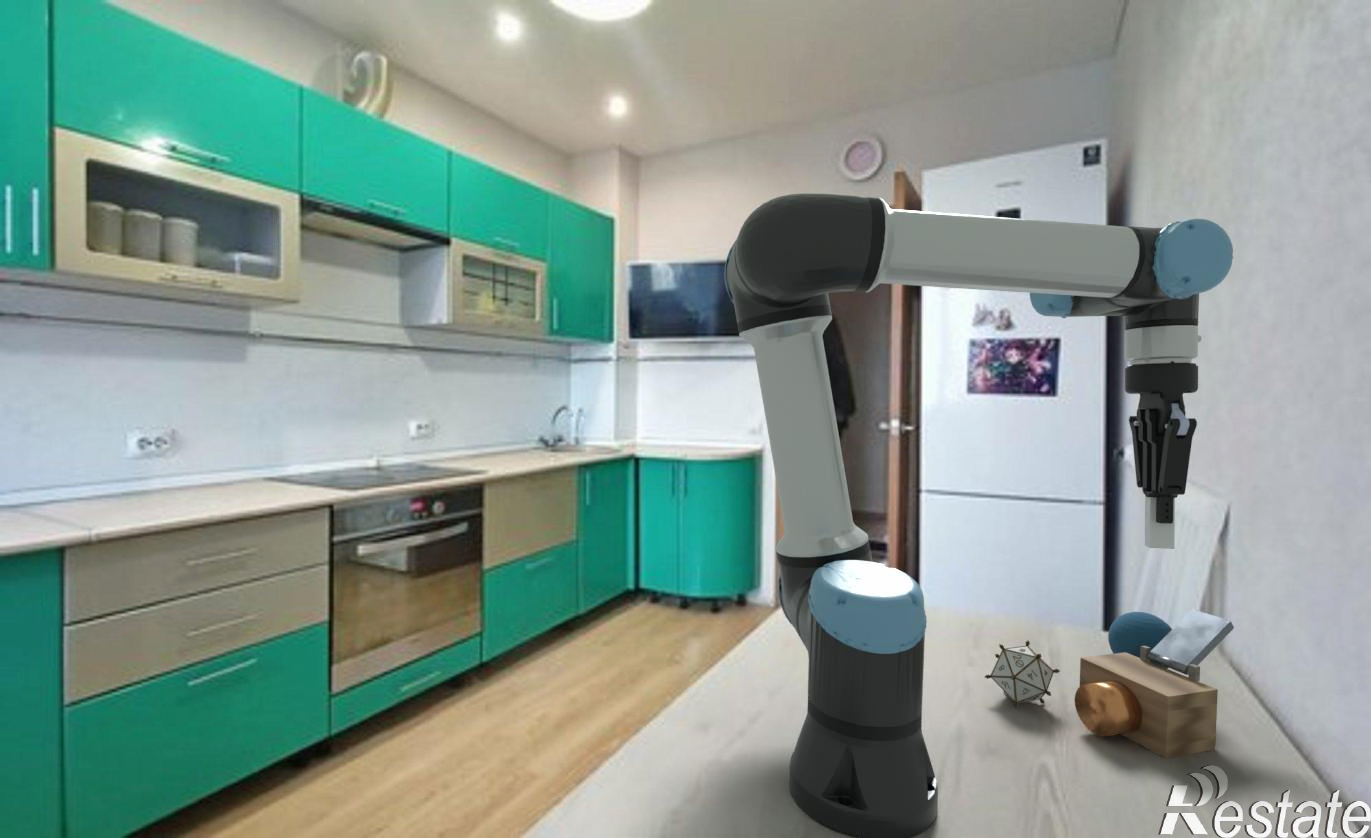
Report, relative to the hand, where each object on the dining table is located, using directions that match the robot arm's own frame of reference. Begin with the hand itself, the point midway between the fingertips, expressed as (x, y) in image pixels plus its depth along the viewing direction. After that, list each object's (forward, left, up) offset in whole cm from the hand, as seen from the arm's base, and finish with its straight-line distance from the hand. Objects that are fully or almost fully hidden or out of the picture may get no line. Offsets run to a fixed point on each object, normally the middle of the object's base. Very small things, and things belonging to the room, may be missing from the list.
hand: (1159, 546), depth 83 cm
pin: (-1, 0, -23) cm, 23 cm away
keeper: (+7, 0, -13) cm, 15 cm away
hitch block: (-1, 0, -24) cm, 24 cm away
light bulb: (+8, +8, -24) cm, 26 cm away
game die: (-11, +11, -24) cm, 28 cm away
